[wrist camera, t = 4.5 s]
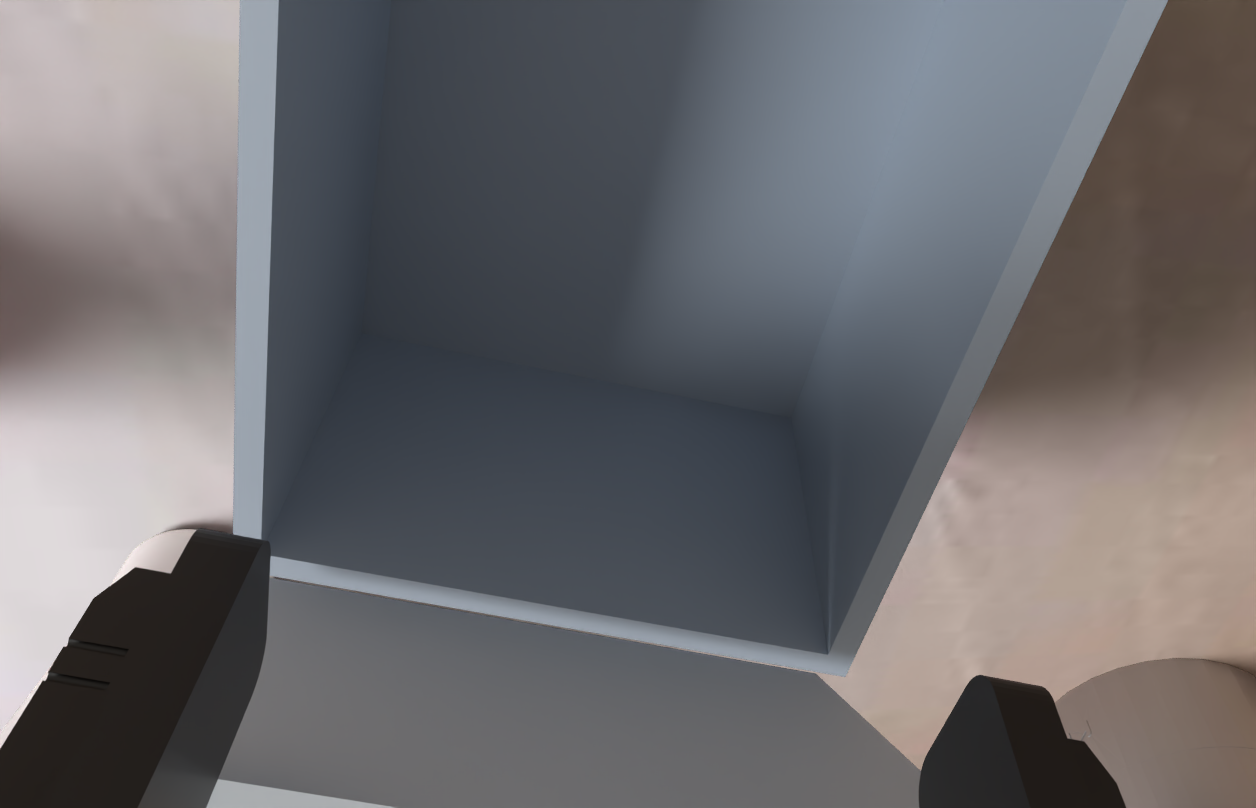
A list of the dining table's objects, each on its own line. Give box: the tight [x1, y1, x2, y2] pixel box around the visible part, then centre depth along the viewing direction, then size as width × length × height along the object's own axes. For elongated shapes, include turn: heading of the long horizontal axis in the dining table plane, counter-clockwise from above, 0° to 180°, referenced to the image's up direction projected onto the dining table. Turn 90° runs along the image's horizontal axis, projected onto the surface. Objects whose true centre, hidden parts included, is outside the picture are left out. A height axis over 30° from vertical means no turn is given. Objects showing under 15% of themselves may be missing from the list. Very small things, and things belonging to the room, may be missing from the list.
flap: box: [206, 578, 921, 808], centre depth 18 cm, size 12×12×1 cm
